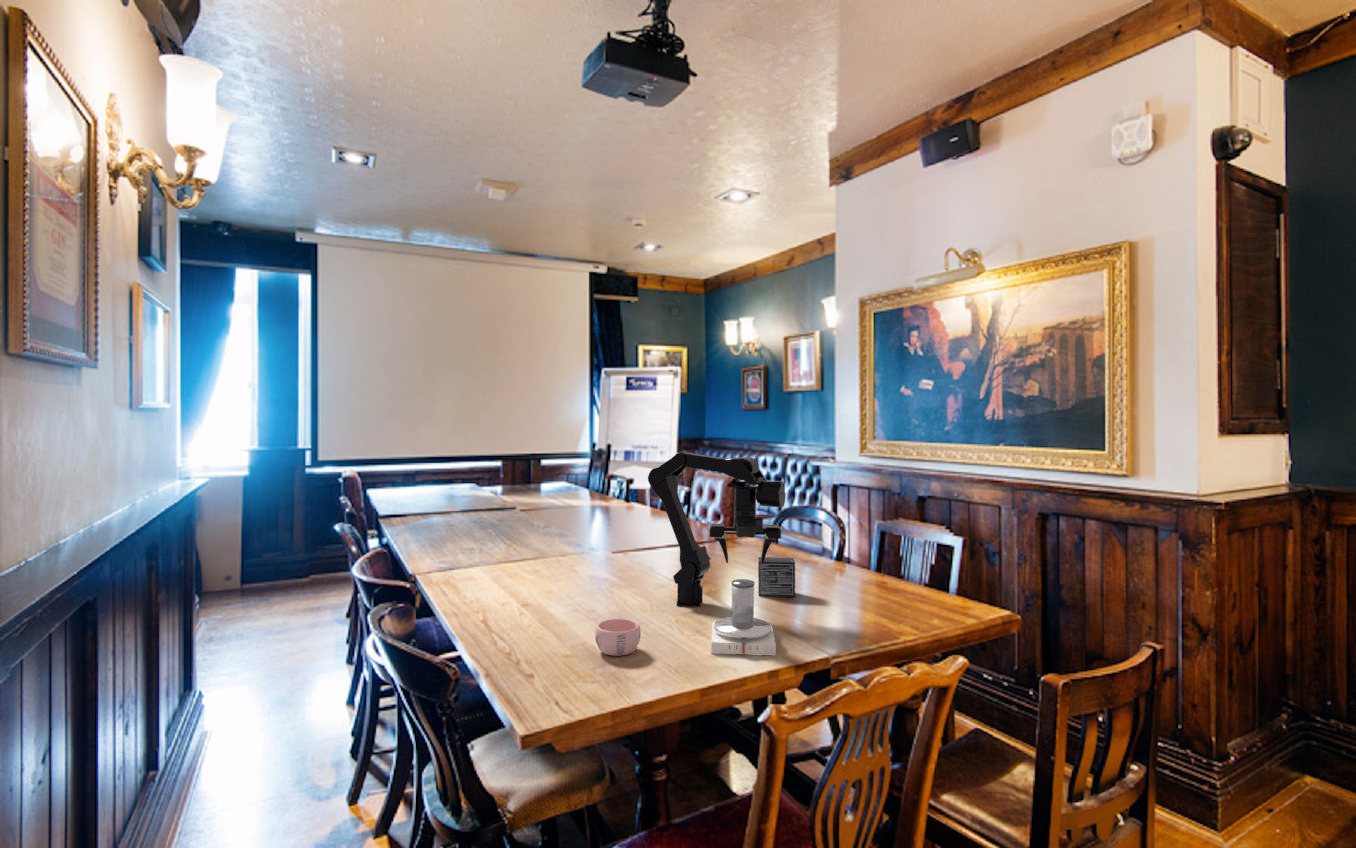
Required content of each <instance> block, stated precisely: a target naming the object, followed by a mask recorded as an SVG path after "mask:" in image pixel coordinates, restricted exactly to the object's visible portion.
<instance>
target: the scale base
mask: <svg viewBox="0 0 1356 848" xmlns="http://www.w3.org/2000/svg"><path fill="white" fill-rule="evenodd" d="M715 622H716V621H712V626H711V627H712V629H711V642H710V643H711V648H710V649H711V651H710V653H711V654H717V655H718V654H719V655H736V654H744V653H742V639H739V638H731V637H727V636H724V635H721V634H719V633H717V632H716V631H715V629H714V624H715ZM769 624H770V625H771V633H770V634H769V635H767V636H764V637H761V638H754V639H745V654H762V655H764V654H765V655H776V652H777V651H776V649H777V648H776V647H777V644H776V639H775V635H774V631H773V627H772V623H769ZM762 655H761V656H762Z"/></svg>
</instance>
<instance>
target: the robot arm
mask: <svg viewBox="0 0 1356 848" xmlns="http://www.w3.org/2000/svg"><path fill="white" fill-rule="evenodd" d="M686 468H692V469H699V470H705V471H711V472H716V473H717V472H718V473H722V474H725V475H726V476H728V477H730V478H732V480H730V482H729V483H728V484H726V487H727V488H734V513H733V514H734V516H733V517H734V519H733V520H734V522H733V525H734V526H725V523H710V525H709V537H710V538H714V539H713V540H714V541H717V542H719V545H720V546H721V550H722V553H723V556H724V559H725V562H726V564H728V563H729V555H728V554H729V553H728V547H727V546H728V545H727V538H726V537H727V536H726V535H736V537H738V538H749V539H750V538H751V539H752V538H755V537H756V535H757V536H758V535H759V536H763V539H762V546H761V547H762V548H761V553H760V554H761V555H760V557H761V564H763V562H764V559H765V557H766V555H767V553H768V550H769V548H770V546H771V545H772V543H775V542H776V541H777V539H778V540H779V539H782V529H781V526H779V525H778V524H764V518H763V517H757V504H759V505H760V506H761V507H767V508H768V507H769V508H771V507H772V508H773V507H774V508H783V507H784V506H785V503H786V492H785V491H786V490H785V487H784V482H783V481H782V480H776V481H774V480H773V481H772V480H767V479H766V477H765V476H764V474H763V472H762V471H761V469H760V466H759V462H757V460H756V458H754V457H752V456H749V457H748V456H746V457H744V456H743V457H727V458H725V457H719V456H712V455H707V454H700V453H694V452H693V453H692V452H689V451H680V452H677V453H676V454H675V455H674V456H673V457H671V458H670V459H668V460H667V461H665V462H664V463H662V464H661V465H660V466H658V467H655V468H652V469H651V470H650V472H649V473H648V475H647V481H648V484H649V485H650V487H651V489H652V491H653V493H654V494H655V495H656V496H657V497H658V498H659V499H660V500H661V502H662V504H663V507H664V509H665V512H666V515H667V519H668V521H669V523H670V525H671V528H672V531H673V534H674V535H675V539H676V542H677V543H678V544H677V545H678V547H679V563H680V569H679V570H678V571H677V572H676V573H675V574H674V575H673V581H674V584H675V585H676V584H677V596H676V597H677V599H676V606H677V607H701V604H702V603H703V597H704V596H703V595H704V594H703V591H704V590H703V589H704V588H703V587H704V586H703V585H701V583H702V582H701V580H702V579H704V577H705V574H706V573H708V571H709V569H710V568H711V562H710V561H711V560H712V558H711V557H710V556H709V554H708V551H707V547H706V545H703V546H700V545H699V544H698V543H697V541H696V539H695V536H694V534H693V531H692V528H691V525H690V523H689V521H688V517H687V515H686V513H685V510H684V507H683V505H682V502H681V500H680V497H679V483H678V482H679V481H678V477H679V476H680V475H682V473H683V472H684V471H685V469H686ZM763 525H764V527H763Z"/></svg>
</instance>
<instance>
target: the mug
mask: <svg viewBox="0 0 1356 848" xmlns="http://www.w3.org/2000/svg"><path fill="white" fill-rule="evenodd" d="M640 627H641V626H640V624H639V623H638V622H637V621H636V620H632V619H628V618H627V619H626V618H610V619H605V620H602V621H600V622H598V624H597V625H596V627H595V629H594V630H595V632H594V636H595V637H594V638H595V643H596V646H597V647H598V650H599V651H600V652H601V653H602V654H605V655H608V656H612V657H613V656H614V657H615V656H618V657H619V656H626V655H629V654H632V653H633V652H634V651H636V650H637V647H638V645H639V643H640V640H641V628H640Z"/></svg>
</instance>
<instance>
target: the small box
mask: <svg viewBox="0 0 1356 848" xmlns="http://www.w3.org/2000/svg"><path fill="white" fill-rule="evenodd" d="M757 565H758V566H757V567H758V572H757V573H758V574H757V575H758V581H757V582H758V584H757V586H758V587H757V588H758V597H759V596H765V597H764V598H789V599H790V598H791V599H792V598H793V599H795V598H796V560H795V559H794V558H793V557H774V556H773V557H770V556H768V557H766V556H765V559H764V562H763V564H761V556H759V557H758V564H757Z"/></svg>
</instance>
